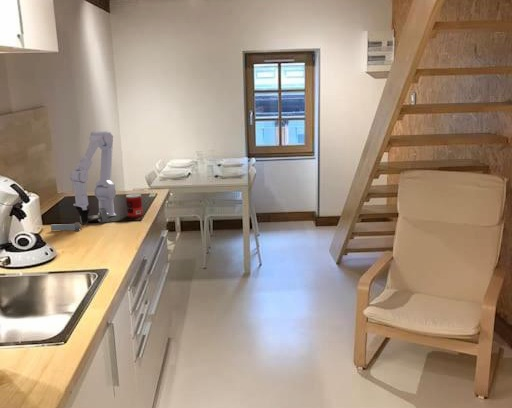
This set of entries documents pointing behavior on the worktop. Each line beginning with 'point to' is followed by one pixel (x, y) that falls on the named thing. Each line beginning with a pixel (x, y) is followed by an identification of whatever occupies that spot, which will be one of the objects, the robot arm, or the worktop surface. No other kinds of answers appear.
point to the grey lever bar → (65, 226)
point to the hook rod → (93, 218)
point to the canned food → (134, 205)
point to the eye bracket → (103, 216)
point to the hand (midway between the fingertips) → (84, 221)
